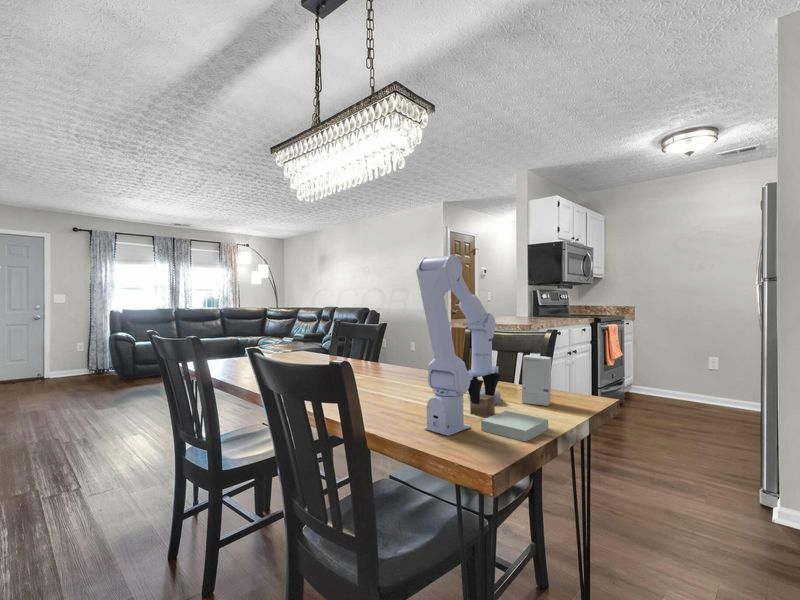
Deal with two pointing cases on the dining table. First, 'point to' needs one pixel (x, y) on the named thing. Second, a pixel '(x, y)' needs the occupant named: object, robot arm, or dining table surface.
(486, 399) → the walnut cube
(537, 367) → the skincare box
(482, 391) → the stone block
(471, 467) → the dining table surface
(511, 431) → the sage board block
